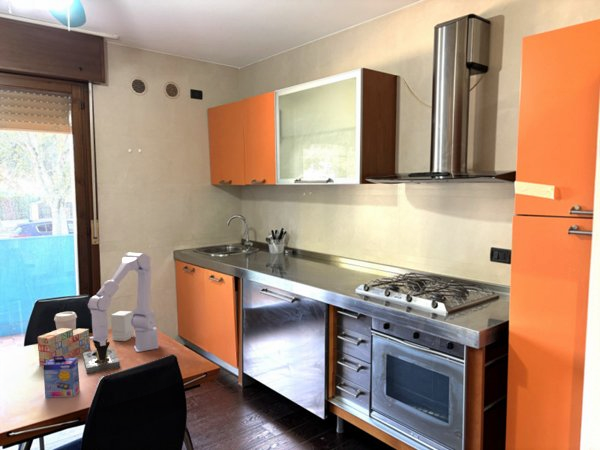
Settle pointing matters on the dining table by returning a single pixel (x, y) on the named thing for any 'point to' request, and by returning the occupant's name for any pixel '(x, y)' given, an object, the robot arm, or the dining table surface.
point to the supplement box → (122, 325)
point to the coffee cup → (65, 320)
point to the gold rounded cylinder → (101, 360)
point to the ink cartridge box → (61, 377)
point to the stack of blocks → (63, 343)
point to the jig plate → (93, 366)
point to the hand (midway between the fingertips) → (101, 357)
